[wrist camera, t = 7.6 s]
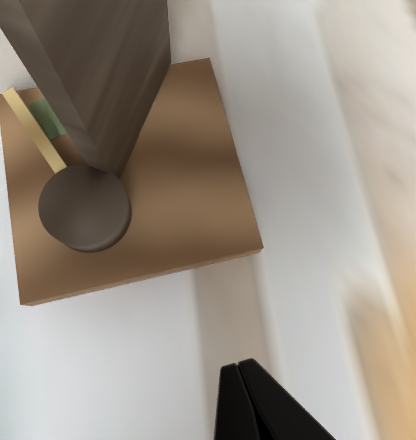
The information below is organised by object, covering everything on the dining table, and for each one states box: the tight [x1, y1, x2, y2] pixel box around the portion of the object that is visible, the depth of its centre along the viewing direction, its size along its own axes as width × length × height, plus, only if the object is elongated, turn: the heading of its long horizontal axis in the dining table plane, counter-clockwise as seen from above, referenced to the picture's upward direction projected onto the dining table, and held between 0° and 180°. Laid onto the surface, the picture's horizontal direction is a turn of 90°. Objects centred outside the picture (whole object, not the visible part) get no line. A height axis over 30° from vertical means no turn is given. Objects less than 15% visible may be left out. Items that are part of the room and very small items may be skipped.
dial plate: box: [0, 58, 264, 306], centre depth 23 cm, size 13×14×2 cm
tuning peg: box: [0, 0, 171, 253], centre depth 16 cm, size 9×13×14 cm
